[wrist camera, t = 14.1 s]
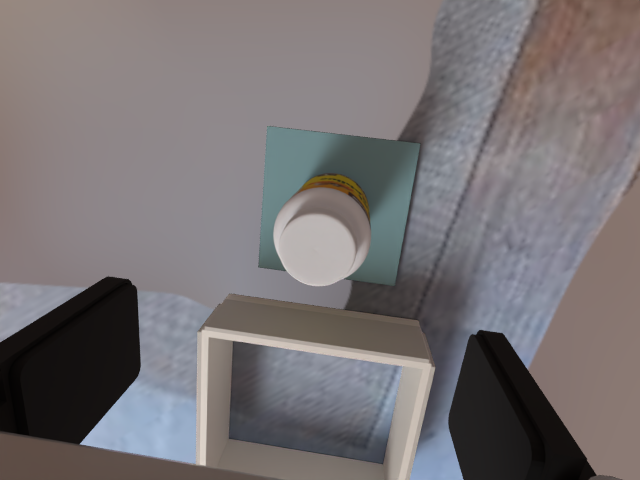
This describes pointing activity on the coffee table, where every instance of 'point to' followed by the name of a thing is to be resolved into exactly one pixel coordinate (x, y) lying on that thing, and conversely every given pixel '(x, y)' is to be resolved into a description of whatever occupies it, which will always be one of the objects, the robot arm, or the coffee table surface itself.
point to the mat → (356, 163)
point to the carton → (317, 337)
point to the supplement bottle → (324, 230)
